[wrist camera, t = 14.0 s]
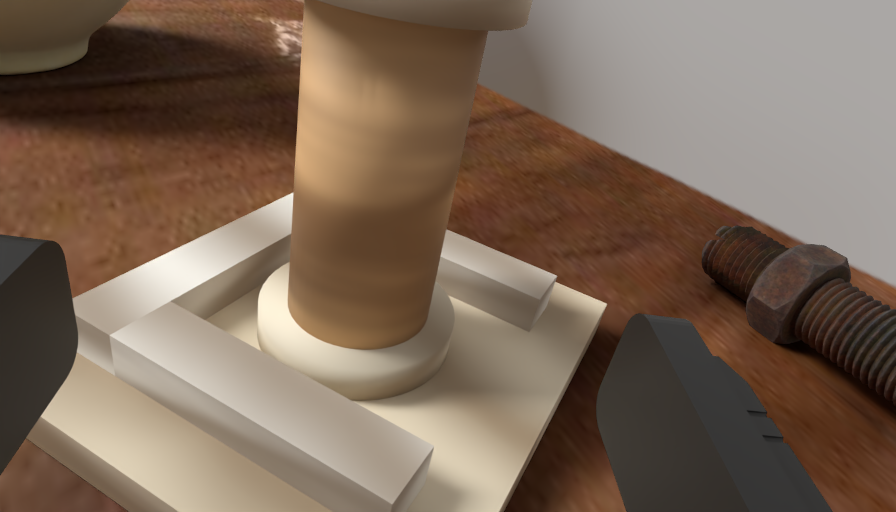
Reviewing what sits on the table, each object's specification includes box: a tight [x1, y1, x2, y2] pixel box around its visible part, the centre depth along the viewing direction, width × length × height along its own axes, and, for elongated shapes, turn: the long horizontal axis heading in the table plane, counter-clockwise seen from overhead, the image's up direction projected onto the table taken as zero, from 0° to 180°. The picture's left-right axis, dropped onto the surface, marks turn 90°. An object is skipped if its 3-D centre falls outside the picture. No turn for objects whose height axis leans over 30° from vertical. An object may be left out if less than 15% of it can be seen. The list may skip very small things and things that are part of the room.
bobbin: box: [257, 0, 532, 401], centre depth 17 cm, size 6×6×12 cm
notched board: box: [26, 193, 607, 512], centre depth 21 cm, size 16×14×3 cm
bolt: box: [702, 226, 896, 406], centre depth 25 cm, size 6×5×15 cm
